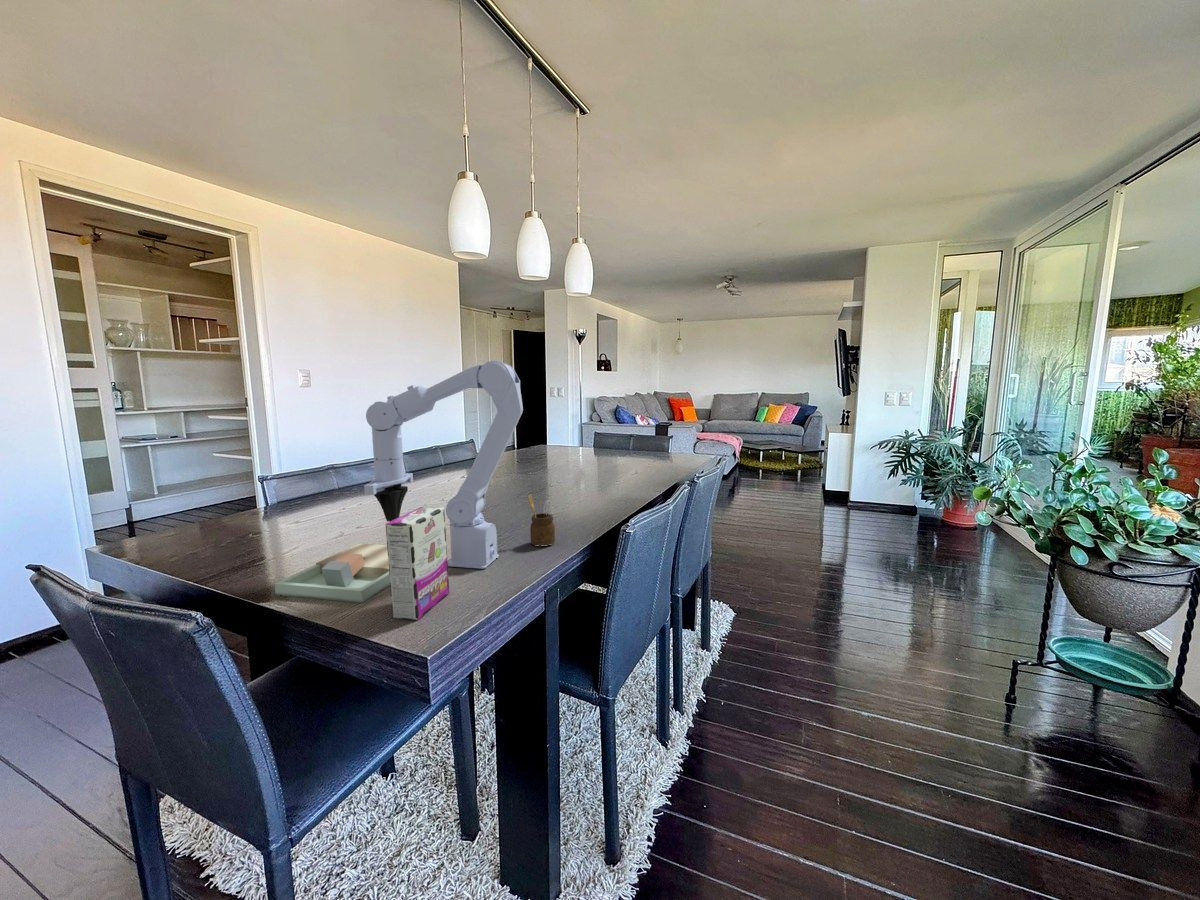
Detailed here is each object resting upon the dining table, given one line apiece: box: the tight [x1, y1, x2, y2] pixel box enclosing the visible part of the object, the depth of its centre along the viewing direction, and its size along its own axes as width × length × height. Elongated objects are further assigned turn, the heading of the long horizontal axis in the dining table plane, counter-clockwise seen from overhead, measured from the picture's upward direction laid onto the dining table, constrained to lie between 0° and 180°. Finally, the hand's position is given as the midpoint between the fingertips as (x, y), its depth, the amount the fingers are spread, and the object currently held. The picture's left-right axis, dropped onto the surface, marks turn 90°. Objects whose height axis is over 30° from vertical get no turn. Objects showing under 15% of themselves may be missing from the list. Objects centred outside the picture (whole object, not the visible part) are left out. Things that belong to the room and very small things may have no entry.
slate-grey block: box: [322, 561, 354, 587], centre depth 93 cm, size 4×4×2 cm
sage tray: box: [274, 564, 390, 604], centre depth 93 cm, size 18×10×2 cm, turn 79°
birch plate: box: [315, 543, 389, 578], centre depth 105 cm, size 18×13×2 cm
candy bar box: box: [385, 506, 450, 621], centre depth 85 cm, size 11×5×16 cm, turn 170°
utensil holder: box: [527, 494, 556, 546], centre depth 119 cm, size 6×6×12 cm
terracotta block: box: [336, 553, 365, 576], centre depth 96 cm, size 4×4×2 cm
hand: (392, 520), depth 106 cm, fingers closed
